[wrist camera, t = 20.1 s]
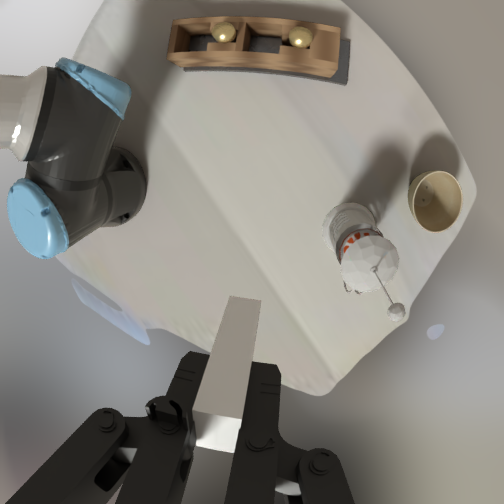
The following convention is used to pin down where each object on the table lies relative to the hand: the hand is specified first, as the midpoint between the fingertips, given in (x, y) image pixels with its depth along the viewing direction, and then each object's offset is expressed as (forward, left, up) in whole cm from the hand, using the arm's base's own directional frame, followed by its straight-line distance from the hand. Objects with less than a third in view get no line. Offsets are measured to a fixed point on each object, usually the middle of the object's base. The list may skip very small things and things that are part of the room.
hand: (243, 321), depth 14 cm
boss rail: (-4, +23, -34) cm, 42 cm away
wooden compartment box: (-5, +23, -33) cm, 41 cm away
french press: (+14, -6, -35) cm, 38 cm away
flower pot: (+26, +4, -35) cm, 43 cm away
